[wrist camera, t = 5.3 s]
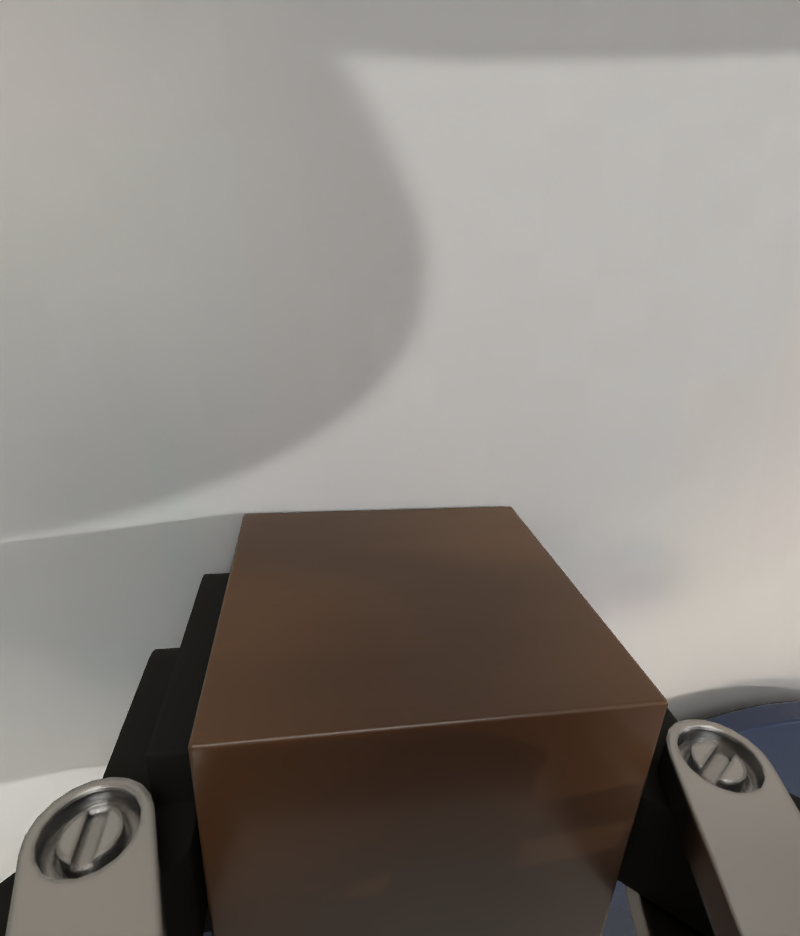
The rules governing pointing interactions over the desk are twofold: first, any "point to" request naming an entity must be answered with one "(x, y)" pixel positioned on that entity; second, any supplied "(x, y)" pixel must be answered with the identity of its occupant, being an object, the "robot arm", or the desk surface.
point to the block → (414, 733)
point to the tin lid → (782, 742)
